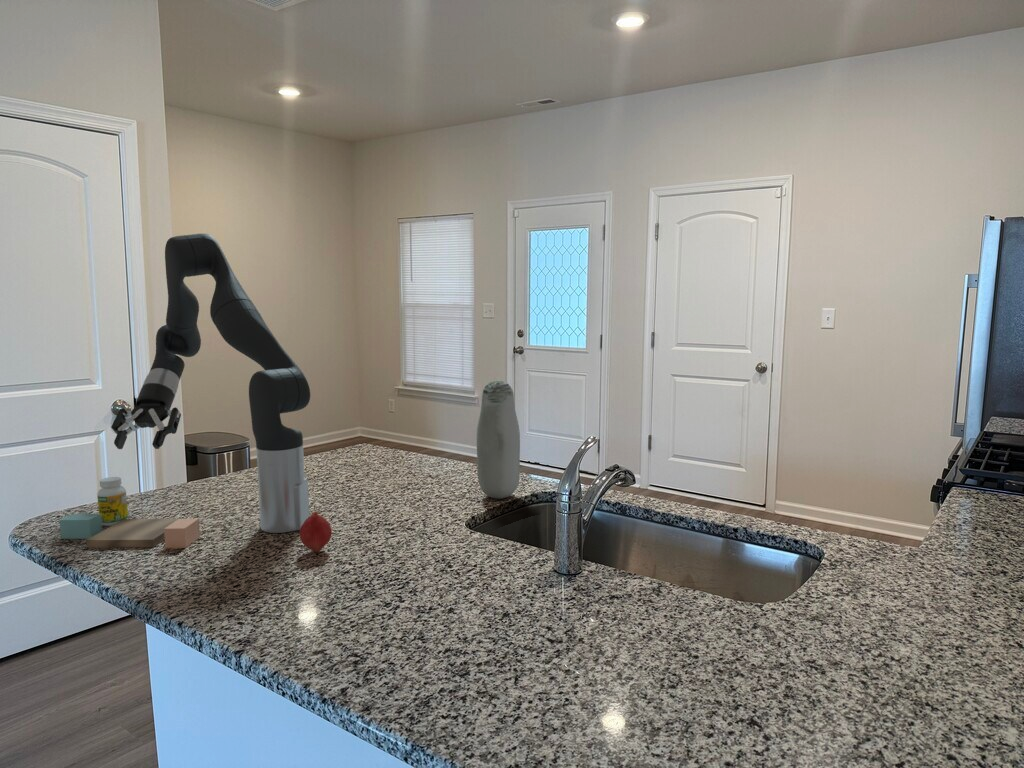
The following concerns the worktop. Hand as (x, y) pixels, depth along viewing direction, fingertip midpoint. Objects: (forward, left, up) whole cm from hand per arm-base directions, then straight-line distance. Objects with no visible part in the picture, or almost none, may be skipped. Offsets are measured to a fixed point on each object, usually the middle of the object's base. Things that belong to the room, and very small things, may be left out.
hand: (136, 447), depth 157 cm
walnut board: (-10, +20, -14) cm, 27 cm away
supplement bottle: (0, +11, -14) cm, 18 cm away
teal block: (+2, +19, -14) cm, 24 cm away
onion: (-49, +30, -14) cm, 59 cm away
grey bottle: (-83, -5, -14) cm, 84 cm away
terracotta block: (-21, +24, -14) cm, 35 cm away
